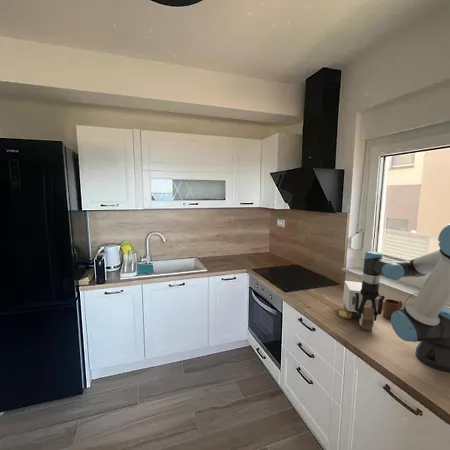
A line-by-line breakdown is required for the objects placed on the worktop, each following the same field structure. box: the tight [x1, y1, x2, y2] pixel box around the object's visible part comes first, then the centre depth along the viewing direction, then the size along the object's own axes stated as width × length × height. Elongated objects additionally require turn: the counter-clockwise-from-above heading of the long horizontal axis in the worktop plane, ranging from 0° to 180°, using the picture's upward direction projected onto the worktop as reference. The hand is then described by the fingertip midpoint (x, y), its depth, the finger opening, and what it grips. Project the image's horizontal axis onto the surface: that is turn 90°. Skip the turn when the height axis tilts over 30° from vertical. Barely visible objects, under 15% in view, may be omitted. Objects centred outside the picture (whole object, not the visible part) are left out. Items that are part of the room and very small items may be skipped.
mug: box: [382, 298, 403, 320], centre depth 148 cm, size 12×8×9 cm, turn 111°
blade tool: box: [356, 304, 374, 332], centre depth 140 cm, size 20×4×12 cm, turn 164°
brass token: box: [338, 309, 353, 320], centre depth 147 cm, size 7×7×2 cm
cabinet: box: [341, 280, 372, 313], centre depth 147 cm, size 17×11×18 cm, turn 164°
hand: (366, 325), depth 133 cm, fingers closed on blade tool, 4 cm apart
